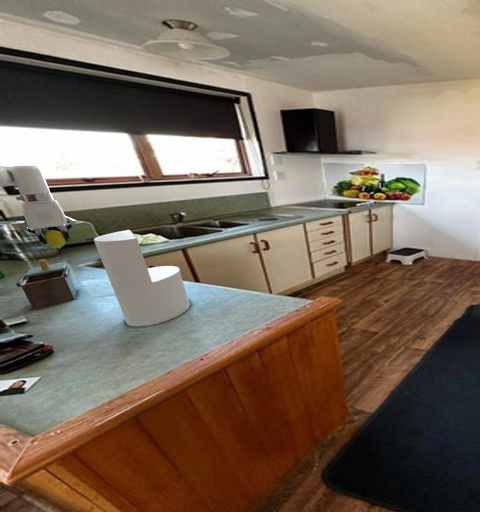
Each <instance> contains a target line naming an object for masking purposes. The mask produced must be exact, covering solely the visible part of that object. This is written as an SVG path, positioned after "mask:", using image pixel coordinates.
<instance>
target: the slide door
mask: <svg viewBox="0 0 480 512" xmlns="http://www.w3.org/2000/svg"><path fill="white" fill-rule="evenodd" d="M37 262H38V264H39V266H34V267H30V268H29V269H28V271H27V272H26V273H25V275H26V277H30V276H35V275H40V274H45V273H51V272H56V271H61V270H65V267H67V263H68V262H67V261H62V262H57V263H50V264H49V263H48V261H47V259H39V260H37Z"/></svg>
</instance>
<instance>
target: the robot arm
mask: <svg viewBox="0 0 480 512" xmlns="http://www.w3.org/2000/svg"><path fill="white" fill-rule="evenodd" d="M10 186H16V187H17V190H18V192H19V194H20V195H19V196H15V199H16V201H22V203H21V209H22V213H23V215H24V218H25V220H24V222H23V223H22V224H20V226H19V229H20V230H21V231H26V232H28V233H30V234H33V235H35V236H37V238H38V241H39V243H42V244H43V245H48V244H47V243H46V241H45V234H43V232H42V229H43V228H44V229H45V228H54V227H59V228H60V229H61V230H62V234H63V235H64V237H65V239H66V242H69V241H70V239H72V237H71V235H70V232H69V230H71V228H72V227H73V226H74V225H76V224H77V220H75V219H73V218H71V217H68V216H67V215H65V213H64V210H63V208H62V207H61V206H60V204H59V202H58V201H57V200H54V198H53V195H52V193H51V191H50V188H49V186H48V184H47V181H46V178H45V176H44V174H43V171H42V169H41V168H40V167H39V166H35V165H13V166H4V165H3V166H2V165H0V188H4V187H10ZM68 222H69V223H68ZM67 223H68V224H67Z"/></svg>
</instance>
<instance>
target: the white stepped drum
mask: <svg viewBox="0 0 480 512" xmlns="http://www.w3.org/2000/svg"><path fill="white" fill-rule="evenodd" d="M93 242H94V245H95V247H96V249H97V252H98V255H99V258H100V259H101V262H102V264H103V267H104V268H105V273H106V275H107V277H108V279H109V282H110V285H111V287H112V289H113V292H114V295H115V298H116V300H117V302H118V305H119V309H120V310H121V312H122V315H123V318H124V321H125V323H126V324H127V325H128V326H131V327H147V326H153V325H157V324H160V323H163V322H164V323H165V322H167V321H169V320H171V319H174V318H176V317H178V316H180V315H182V314H183V313H185V312H186V311H187V310H188V309H189V308H190V306H191V303H190V300H189V297H188V294H187V291H186V288H185V287H186V286H185V284H184V281H183V277H182V273H181V270H180V267H178V266H174V265H162V266H161V265H160V266H154V267H148V266H147V263H146V260H145V258H144V254H143V251H142V249H141V245H140V243H139V239H138V238H137V237H136V235H135V234H134V233H133V232H132V231H131V230H130V229H126V230H120V231H115V232H110V233H106V234H102V235H99V236H96V237H95V238H94V239H93Z"/></svg>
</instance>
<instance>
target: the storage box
mask: <svg viewBox="0 0 480 512" xmlns="http://www.w3.org/2000/svg"><path fill="white" fill-rule="evenodd" d="M69 273H70V267H69V265H68V266H67V265H66V267H65V270H61V271H56V272H51V273H45V274H40V275H35V276H30V277H26V273H24V274H21V276H20V277H19V278H18V279H17V281H16V282H15V285H16V287H17V288H21V289H22V290H23V292H24V294H25V296H26V299H27V300H28V302H29V304H30V306H31V308H32V310H33V311H35V310H39V309H43V308H47V307H51V306H55V305H59V304H62V303H68V302H71V301H75V300H76V294H77V289H76V288H75V285H74V283H73V280H72V278H71V276H70V274H69Z"/></svg>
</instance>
